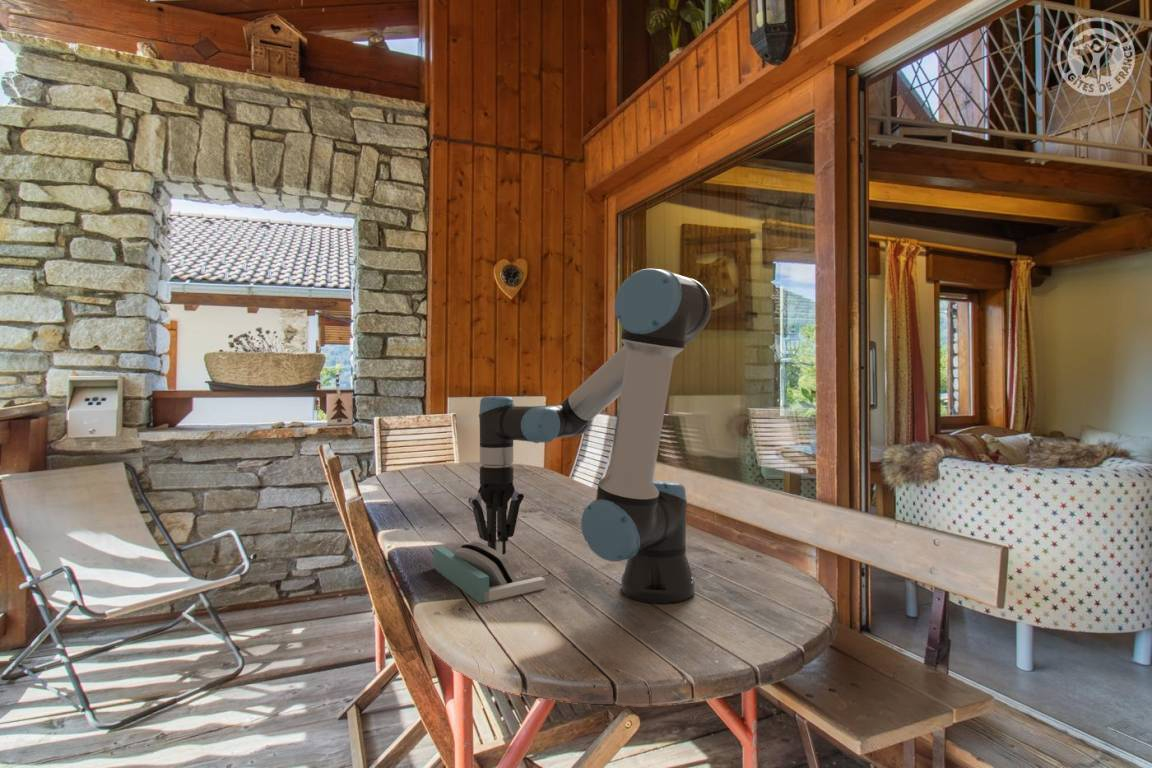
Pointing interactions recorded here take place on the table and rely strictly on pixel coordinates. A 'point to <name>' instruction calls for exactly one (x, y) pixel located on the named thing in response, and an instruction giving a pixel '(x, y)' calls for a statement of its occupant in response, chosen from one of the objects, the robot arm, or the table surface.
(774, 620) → the table surface
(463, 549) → the grey half-round casing
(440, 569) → the guide bay
